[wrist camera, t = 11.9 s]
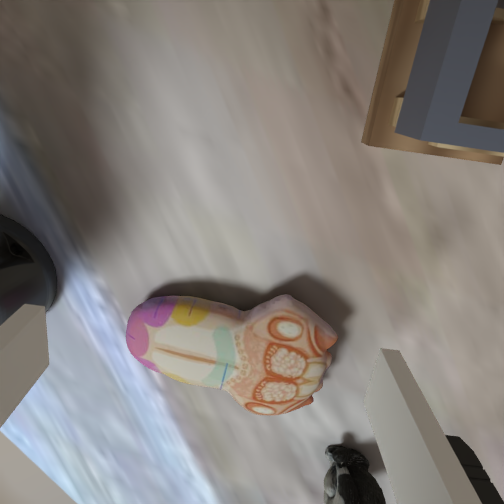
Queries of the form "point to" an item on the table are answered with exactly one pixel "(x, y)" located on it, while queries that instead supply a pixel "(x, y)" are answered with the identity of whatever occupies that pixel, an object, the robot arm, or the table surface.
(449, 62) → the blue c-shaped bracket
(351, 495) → the figurine
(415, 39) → the stand
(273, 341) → the sculpture
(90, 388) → the table surface
